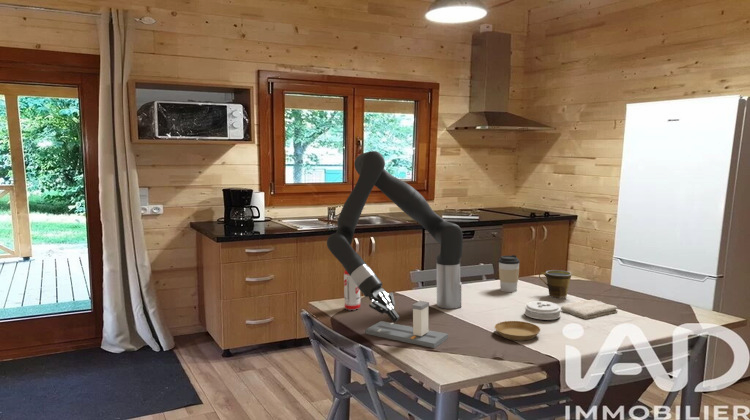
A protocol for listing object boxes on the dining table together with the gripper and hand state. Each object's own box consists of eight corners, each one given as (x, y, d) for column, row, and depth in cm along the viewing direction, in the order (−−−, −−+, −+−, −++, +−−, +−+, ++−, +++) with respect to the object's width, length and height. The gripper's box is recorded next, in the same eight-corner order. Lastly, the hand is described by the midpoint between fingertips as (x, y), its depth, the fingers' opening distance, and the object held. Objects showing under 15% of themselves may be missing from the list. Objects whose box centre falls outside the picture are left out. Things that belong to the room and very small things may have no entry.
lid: (526, 321, 189) (526, 308, 188) (523, 310, 201) (523, 298, 201) (563, 323, 187) (563, 309, 186) (557, 311, 199) (557, 299, 198)
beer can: (361, 306, 210) (360, 267, 208) (359, 311, 204) (358, 270, 202) (345, 306, 211) (344, 266, 209) (343, 310, 204) (342, 270, 203)
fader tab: (412, 334, 171) (412, 304, 170) (420, 329, 176) (419, 300, 175) (421, 336, 170) (421, 306, 168) (429, 331, 174) (429, 302, 173)
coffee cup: (507, 293, 223) (508, 259, 222) (493, 289, 231) (493, 255, 230) (523, 290, 228) (524, 256, 226) (509, 286, 236) (509, 253, 234)
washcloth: (619, 312, 197) (619, 304, 197) (586, 321, 189) (586, 312, 188) (592, 304, 208) (593, 297, 207) (560, 312, 199) (560, 304, 199)
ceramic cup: (573, 295, 220) (573, 271, 219) (567, 301, 212) (568, 276, 210) (541, 291, 227) (542, 268, 226) (535, 296, 218) (535, 273, 217)
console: (365, 333, 179) (365, 328, 179) (381, 325, 187) (381, 319, 187) (434, 348, 165) (434, 342, 165) (448, 338, 173) (447, 332, 173)
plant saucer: (490, 327, 183) (490, 320, 183) (533, 327, 183) (533, 320, 182) (499, 343, 168) (499, 335, 168) (545, 343, 168) (546, 335, 168)
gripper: (361, 277, 175) (394, 319, 170) (382, 269, 186) (413, 308, 181) (349, 291, 178) (380, 332, 173) (370, 282, 189) (400, 321, 184)
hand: (397, 320), depth 177 cm, fingers closed
